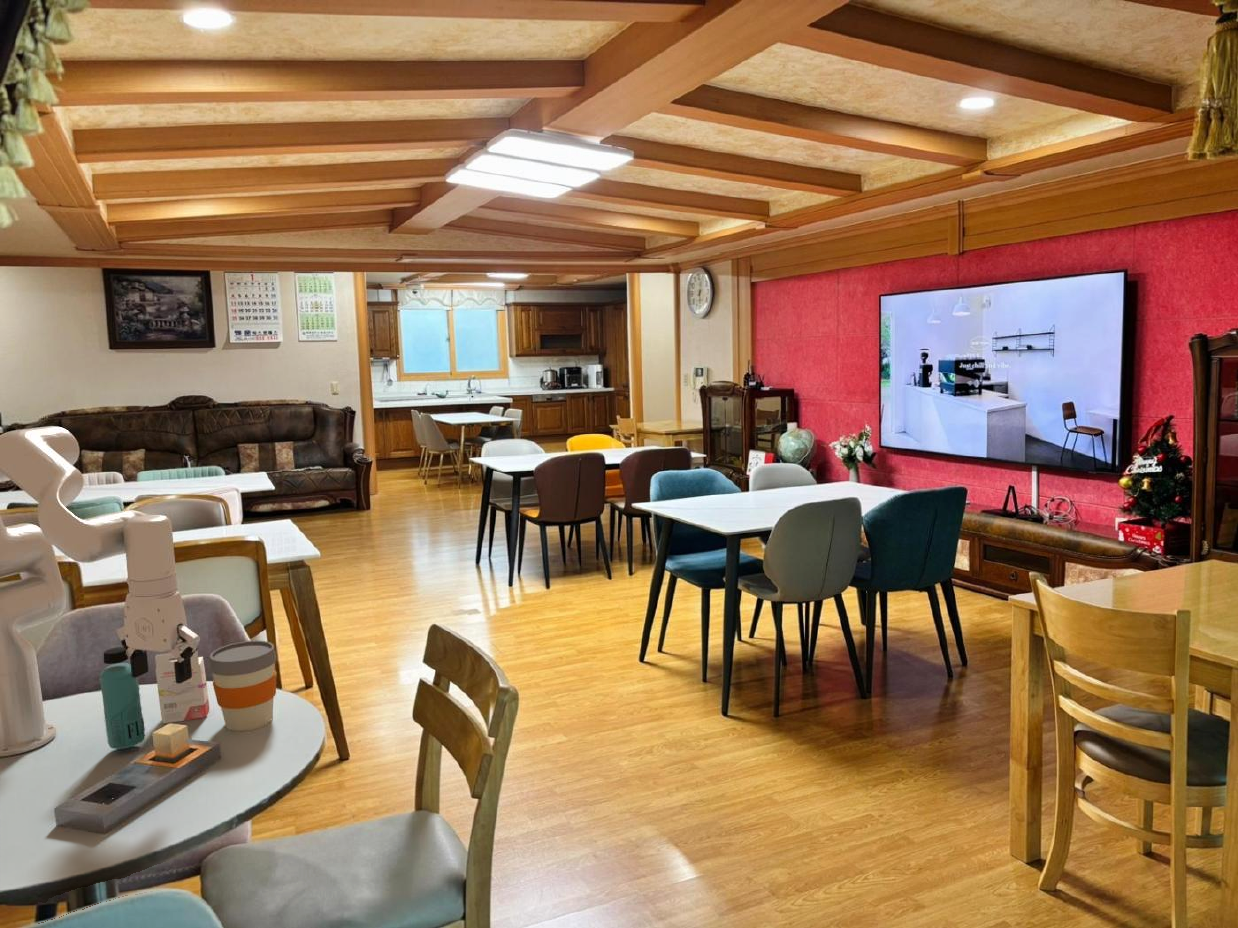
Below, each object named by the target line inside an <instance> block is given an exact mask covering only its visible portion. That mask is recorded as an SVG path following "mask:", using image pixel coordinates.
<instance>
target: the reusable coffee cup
mask: <svg viewBox="0 0 1238 928" xmlns="http://www.w3.org/2000/svg"><path fill="white" fill-rule="evenodd" d="M276 662H277V653H276V650H275V645H274V644H273V643H272V642H270V641H266V640H248V641H247V640H246V641H239V642H234V643H230V644H227V645H224V646H221V647H219V648H217V649H215V650H213V651H212V652H211V653H210V655H209V672H210V673H212V674H211V675H212V678H213V682H212V686H213V691H214V696H215V699H216V703H217V705H218V706H219V707H220V709H221V712H222V716H223V717H222V718H223V721H224V724H225V728H226V729H228V730H229V731H233V732H234V731H236V732H240V731H242V732H243V731H250V730H254V729H258V728H261V727H263V726H266V725H268V724H269V723H270V722H271V721H272V720H273V718H274V714H273V713H274V699H275V696H276V694H277V678H278V677H277V675H278V673H277V671H276ZM271 719H272V720H271ZM269 721H270V722H269ZM268 722H269V723H268ZM260 726H261V727H260Z"/></svg>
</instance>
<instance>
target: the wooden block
mask: <svg viewBox="0 0 1238 928" xmlns="http://www.w3.org/2000/svg"><path fill="white" fill-rule="evenodd" d="M189 739H190V737H189V730H188V725H185V724H177V723H173V722H171V723H167V724H166V725H164V726H162V727H161V728H158V729H156V730H155V731H153V732H152V740H153V749H154V751H155V759H156V762H163V763H170V764H175V763H176V762H178V761H180V760H181V759H183V758H185V757H186V756H188V755H189V754H190V746H189Z"/></svg>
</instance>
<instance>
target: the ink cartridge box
mask: <svg viewBox="0 0 1238 928" xmlns="http://www.w3.org/2000/svg"><path fill="white" fill-rule="evenodd" d="M180 652H181V653H182V652H183V651H182V650H181V651H180ZM154 659H155V666H156V668H155V677H156V684H157V685H156V686H157V693H158V700H159V702H158V703H159V706H160V717H161V722H162V724H170V723H176V722H177V723H178V722H182V721H191V720H198V719H204V718H207V716H208V713H209V711H210V709H211V708H210V700H209V693H208V692H209V690H208V685H207V684H208V683H207V675H206V668H205V661H204V660H205V659H204V656H199V652H198V649H197V650H196V652H195V653H194V655H193V657H191V658H190V659H191V670H192V677H191V678H190V679H188V680H186V681H184V682H182V683H180V684H178V683H176V679H175V668H174V662H176V661H177V660H176V659H175V657H174V656H173V654H172V653H171V652H166V653H162V654H161V653H160V654H158V653H157V654H155V657H154ZM170 659H175V660H170Z"/></svg>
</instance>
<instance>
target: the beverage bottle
mask: <svg viewBox="0 0 1238 928" xmlns="http://www.w3.org/2000/svg"><path fill="white" fill-rule="evenodd" d="M126 651H127V650H126V649H125V648H124V647H123V646H118V647H112V648H108V649H107V650H105V651H103V663H104V664H106V665H108V666H106V667H105V668H104V669H103V670H102V671H101V672H100V673H99V682H100V687H101V688H100V689H101V696H102V704H103V714H104V715H103V716H104V717H103V718H104V723H105V730H106V732H105V734H106V735H105V736H106V738H107V739H106V741H107V744H108V745H109V748H111V749H114V750H115V749H116V750H118V749H119V750H120V749H127V748H132V747H134V746H137V745H139V744H141V743H142V742H143V741H144V740H145V736H146V734H145V731H146V729H145V719H144V715H143V707H142V705H141V703H142V702H141V693H140V690H141V689H140V684H139V680H138V677H136V678H133V677H132V673H131V663H130V662H129V663H128V662H125V661H127V660H128V659H130V656H128V655H127V654H126Z"/></svg>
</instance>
